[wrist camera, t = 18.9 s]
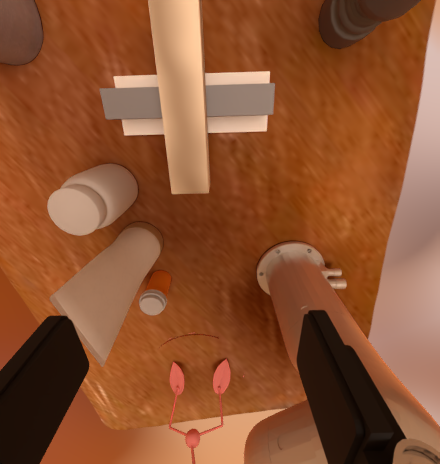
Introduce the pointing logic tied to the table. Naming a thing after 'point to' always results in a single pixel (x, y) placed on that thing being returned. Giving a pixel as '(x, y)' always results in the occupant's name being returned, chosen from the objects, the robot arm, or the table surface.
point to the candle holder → (357, 18)
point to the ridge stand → (217, 98)
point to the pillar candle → (19, 31)
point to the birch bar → (182, 91)
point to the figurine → (219, 386)
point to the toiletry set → (107, 257)
